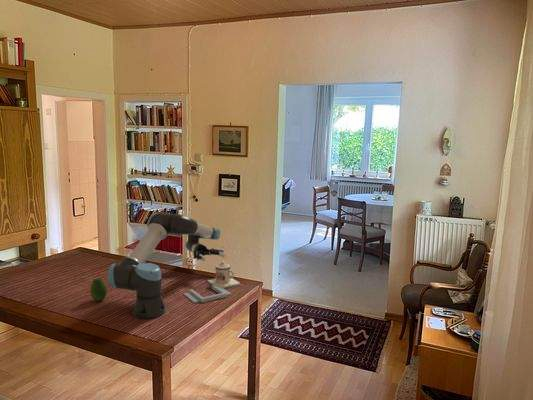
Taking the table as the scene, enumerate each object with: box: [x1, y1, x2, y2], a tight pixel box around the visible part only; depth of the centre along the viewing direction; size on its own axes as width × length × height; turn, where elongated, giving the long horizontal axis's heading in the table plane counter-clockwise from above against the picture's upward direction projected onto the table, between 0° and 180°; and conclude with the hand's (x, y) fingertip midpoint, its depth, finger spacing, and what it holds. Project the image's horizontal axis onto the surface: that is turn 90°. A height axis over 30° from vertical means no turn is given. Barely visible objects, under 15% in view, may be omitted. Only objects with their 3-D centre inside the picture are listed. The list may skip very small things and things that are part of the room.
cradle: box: [183, 284, 232, 304], centre depth 218 cm, size 22×15×2 cm
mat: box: [207, 278, 241, 289], centre depth 237 cm, size 14×14×1 cm
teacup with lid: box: [214, 261, 235, 283], centre depth 236 cm, size 12×9×12 cm
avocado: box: [90, 277, 108, 302], centre depth 208 cm, size 8×8×12 cm
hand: (214, 257), depth 243 cm, fingers open, 13 cm apart
